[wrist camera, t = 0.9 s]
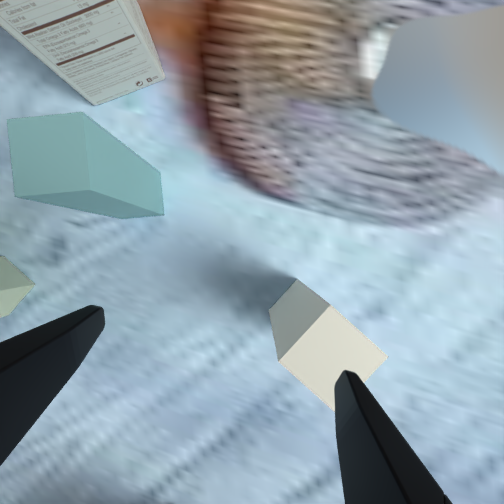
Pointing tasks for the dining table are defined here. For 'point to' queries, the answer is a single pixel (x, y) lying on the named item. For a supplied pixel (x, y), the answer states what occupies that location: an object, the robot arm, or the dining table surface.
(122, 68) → the supplement box
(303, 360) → the off-white post
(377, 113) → the dining table surface
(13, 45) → the dining table surface
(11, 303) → the sage post
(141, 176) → the teal post
